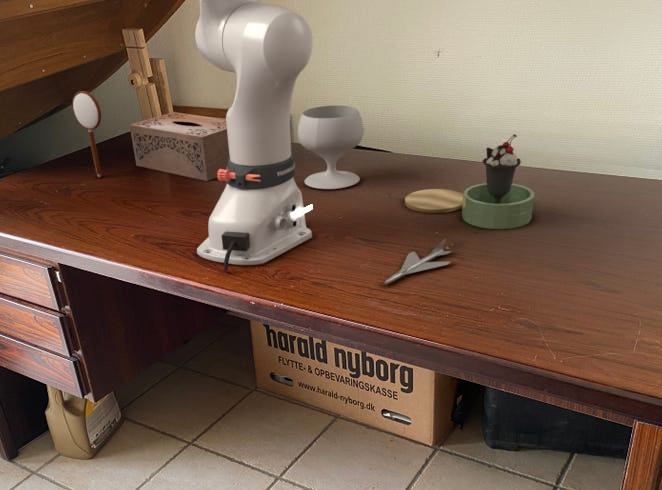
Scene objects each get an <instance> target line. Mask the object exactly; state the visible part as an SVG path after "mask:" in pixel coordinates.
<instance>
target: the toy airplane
mask: <svg viewBox="0 0 662 490" xmlns="http://www.w3.org/2000/svg"><path fill="white" fill-rule="evenodd" d="M446 241H447V238H445V239H443V240H442V241H440V242H439V243H438V244H437V245H436V246H435V247H434V248H433V249H432V250H431V251H430V252H429V254H427V255H426V256H425V257H422V258H420V257H419V256H418V254H417V253H416V250H415V251H411V252H409V253H408V254H407V255H406V258H405V260H404V262H403V264H402V266H401V268H400V269H399V270H398V271H397V272H396V273H395V274H392V275H391V276H390V277H388V278H387V279H386V280H385V281H383V285H385V286H386V285H390V284H392V283H394V282H397V281H398V280H400V279H402V278H403V277H405V276H407V275H409V274H413V273H418V272H422V271H427V270H431V269H435V268H438V267H439V268H440V267H443V266H447V265H449V264H450V263H451V262H452V261H450V260H449V261H433V260H434V259H436V258H437V257H440V256H445V255H448V254H450V253H451V252H453V250H449V246H447V247H446V249H447V250H444V249H443V248H444V245H445V243H446ZM450 245H451V246H453V243H451V244H450Z"/></svg>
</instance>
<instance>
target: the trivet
mask: <svg viewBox="0 0 662 490" xmlns="http://www.w3.org/2000/svg"><path fill="white" fill-rule="evenodd" d="M404 205H405V206H406V207H407V208H408V209H410V210H413V211H416V212H419V213H426V214H445V213H451V212H455V211H459V210H462V205H463V193H461V192H459V191H456V190H451V189H447V188H446V189H445V188H430V189H429V188H428V189H421V190H417V191H413V192H411V193H408V194H407V195H406V196H405V198H404Z"/></svg>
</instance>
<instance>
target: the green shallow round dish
mask: <svg viewBox="0 0 662 490" xmlns="http://www.w3.org/2000/svg"><path fill="white" fill-rule="evenodd" d="M462 194H463V205H462V208H461V218H462V220H463V221H464V222H465V223H467V224H469V225H471V226H474V227H478V228H483V229H488V230H489V229H490V230H508V229H514V228H520V227H523V226H525V225H527V224H529V223H530V222H531V220H532V217H533V209H534V203H535V201H534V199H535V192H534V191H533V190H532V189H531V188H529V187H527V186H524V185H520V184H518V183H517V184H516V183H512V185H511V188H510V191H509V192H508V193H507V194H506V195H505V196H503V197H502V198H501V203H500V204H494V199H495V198H494V197H493V196H492V195H491V194H490V193H489V192H488V189H487V182H486V183H479V184H475V185H471V186H469V187H467V188H465V189H464V192H463V193H462Z"/></svg>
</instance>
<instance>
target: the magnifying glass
mask: <svg viewBox="0 0 662 490" xmlns="http://www.w3.org/2000/svg"><path fill="white" fill-rule="evenodd" d="M71 108H72V114H73V117H74V118H75V121H76V122H77V123H78V124H79V125H80V126H81V127H82V128H84V129H85V130H88V131H87V133H88V139H89V145H90V148H91V149H90V150H91V153H92V159H93V164H94V169H95V174H96V175H97V177H98V178H101V177H102V169H101V164H100V159H99V154H98V148H97V145H96V139H95V132H94V131H93V130H95V129H97V128H98V127H99V126H100V123H101V122H102V111H101V107H100V104H99V101H97V99H96V97H94V95H93V94H91V93H90V92H89V91H86V90H80V91H77V92H76V93H75V94H74V95H73V96H72V100H71Z"/></svg>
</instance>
